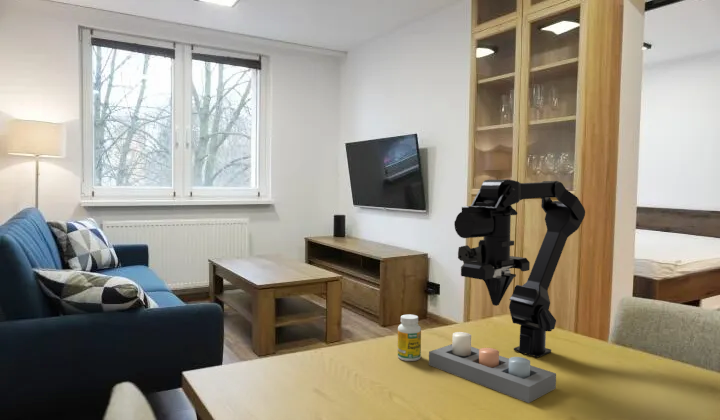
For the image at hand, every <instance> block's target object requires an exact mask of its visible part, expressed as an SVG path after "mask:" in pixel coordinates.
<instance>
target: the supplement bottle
mask: <svg viewBox="0 0 720 420" xmlns="http://www.w3.org/2000/svg"><path fill="white" fill-rule="evenodd" d="M418 323H419V316H418V315H416V314H410V313H409V314H403V315H401V316H400V324H399V325H398V327H397V357H398V359H399V360H401V361H405V362H416V361H418V360H420V359H421V357H422V354H421V353H422V327H421V326H420V325H419V324H418Z"/></svg>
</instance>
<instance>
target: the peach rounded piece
mask: <svg viewBox="0 0 720 420" xmlns="http://www.w3.org/2000/svg"><path fill="white" fill-rule="evenodd" d="M478 349H479V364H481V365H484V366H487V367H490V368H494V367H496V366H499V356H500V351H499V350H498V349H496V348H492V347H481V348H478Z"/></svg>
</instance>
